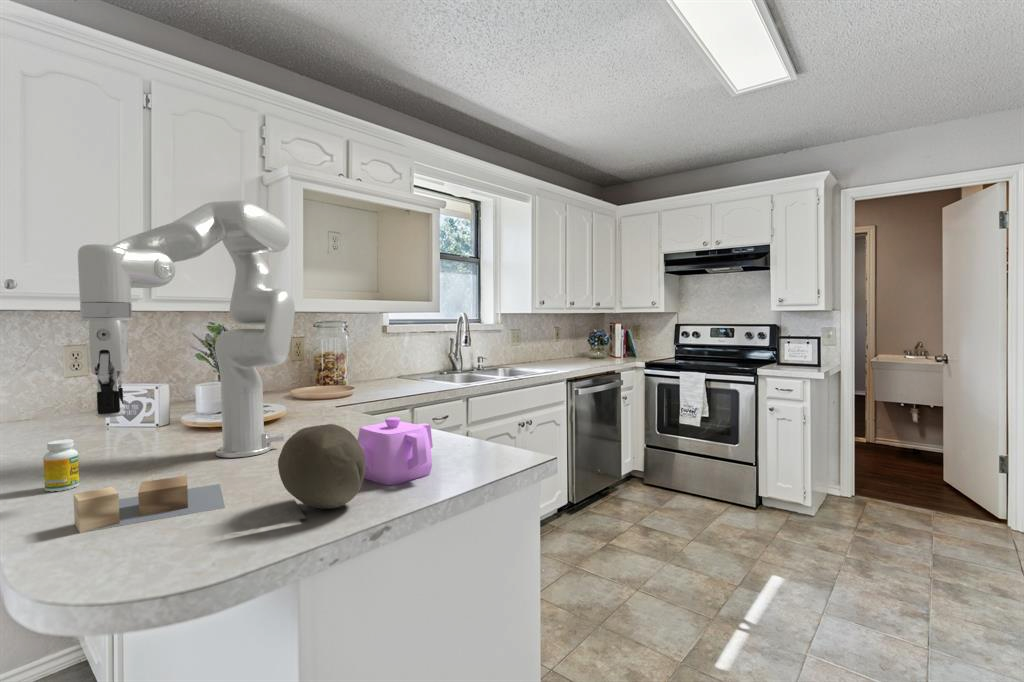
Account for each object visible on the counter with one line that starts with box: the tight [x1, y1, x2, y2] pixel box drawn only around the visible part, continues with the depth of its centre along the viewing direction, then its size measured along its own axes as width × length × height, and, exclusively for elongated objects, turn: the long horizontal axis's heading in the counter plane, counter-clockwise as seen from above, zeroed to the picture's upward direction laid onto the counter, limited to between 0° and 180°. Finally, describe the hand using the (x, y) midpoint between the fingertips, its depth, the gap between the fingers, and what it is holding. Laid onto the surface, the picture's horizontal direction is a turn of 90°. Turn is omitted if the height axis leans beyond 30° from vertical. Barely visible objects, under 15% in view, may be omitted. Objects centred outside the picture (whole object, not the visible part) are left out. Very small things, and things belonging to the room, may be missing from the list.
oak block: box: [73, 486, 120, 534], centre depth 84 cm, size 5×5×5 cm
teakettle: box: [357, 416, 434, 486], centre depth 113 cm, size 17×17×12 cm
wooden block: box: [137, 475, 189, 516], centre depth 92 cm, size 7×7×4 cm
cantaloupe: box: [277, 423, 366, 510], centre depth 92 cm, size 14×14×15 cm
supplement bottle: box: [43, 438, 80, 493], centre depth 106 cm, size 5×5×10 cm
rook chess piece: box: [95, 372, 126, 419], centre depth 97 cm, size 4×4×8 cm
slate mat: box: [78, 483, 226, 534], centre depth 93 cm, size 20×16×1 cm
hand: (111, 410), depth 97 cm, fingers closed on rook chess piece, 4 cm apart
